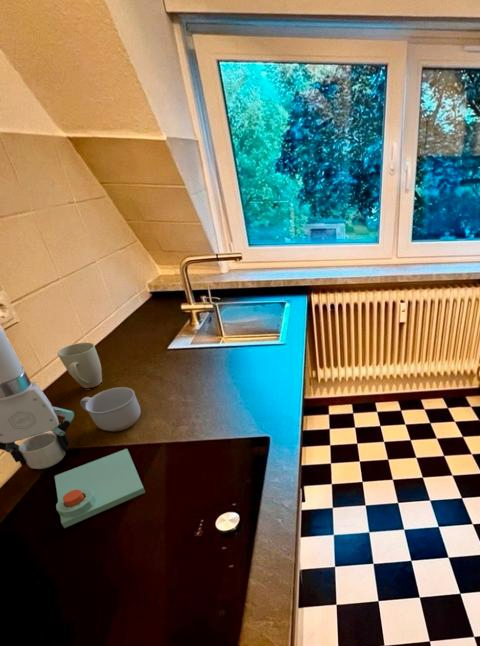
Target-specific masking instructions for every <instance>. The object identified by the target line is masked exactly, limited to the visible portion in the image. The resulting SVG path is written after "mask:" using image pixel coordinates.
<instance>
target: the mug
mask: <svg viewBox="0 0 480 646" xmlns="http://www.w3.org/2000/svg"><path fill="white" fill-rule="evenodd" d="M56 354H57V356H58V357H59V359H60V361H61V363H62V364H63V366H64V368H65V369H66V371H67V372H68V374H69V375H70V376H71V377H72V379H74V380H75V381H76V383H78V384H79V385H80V386H81V387H82V388H83V387H84V388H89V387H94V386H97V385H99V384H100V383H101V382H102V383H103V378H102V377H103V374H102V373H103V372H102V365H101V364H102V363H101V360H100V357H99V355H98V352H97V349H96V346H95V344H94V343H92V342H79V343H74V344H70V345H67V346H64V347H62V348H61V349H59V350H58V351H57V353H56ZM84 388H83V389H84Z"/></svg>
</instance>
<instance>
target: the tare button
mask: <svg viewBox="0 0 480 646" xmlns="http://www.w3.org/2000/svg"><path fill="white" fill-rule="evenodd" d="M83 500H84V495H83V494H82V492H81V491H80V490H73V491H70V492H68V493H67V494H65V495H64V497H63V501H64V503H65V504H66V506H68V507H73V506H76V505H78V504H80V503H81V502H82V501H83Z"/></svg>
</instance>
